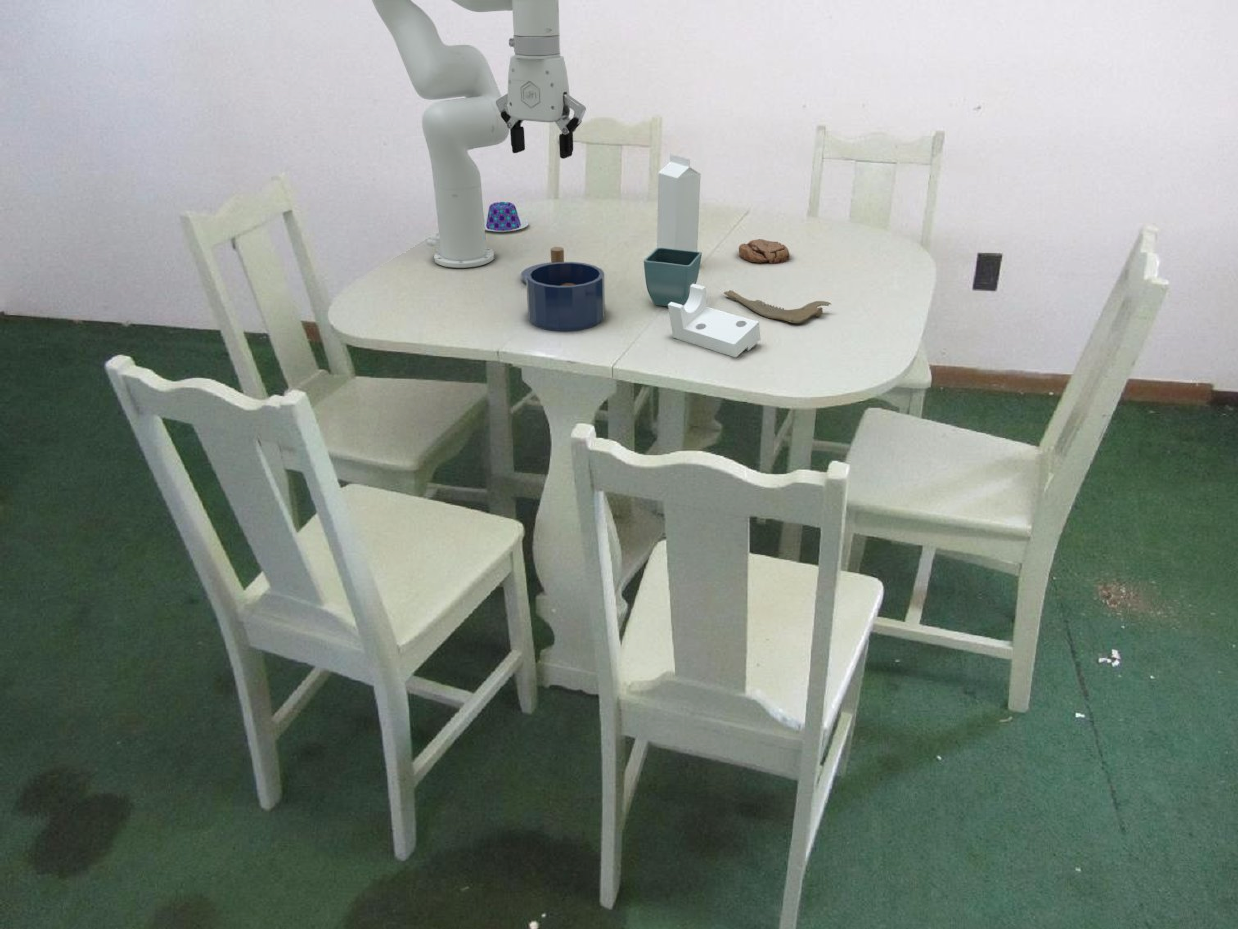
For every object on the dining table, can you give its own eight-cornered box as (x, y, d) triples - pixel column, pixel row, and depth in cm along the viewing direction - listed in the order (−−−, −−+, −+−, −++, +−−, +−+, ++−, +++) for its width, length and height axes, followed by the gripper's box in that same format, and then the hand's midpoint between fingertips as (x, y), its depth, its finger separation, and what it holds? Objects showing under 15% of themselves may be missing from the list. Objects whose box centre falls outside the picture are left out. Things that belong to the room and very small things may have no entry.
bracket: (673, 341, 156) (667, 304, 151) (698, 320, 159) (693, 283, 154) (736, 362, 148) (732, 323, 143) (760, 339, 152) (757, 301, 147)
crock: (513, 323, 161) (511, 279, 157) (553, 299, 171) (552, 257, 167) (580, 336, 155) (579, 292, 151) (617, 310, 166) (617, 268, 162)
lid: (507, 284, 178) (505, 253, 175) (545, 263, 189) (544, 234, 186) (571, 296, 172) (570, 264, 169) (607, 273, 184) (607, 243, 180)
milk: (674, 273, 184) (677, 161, 173) (656, 265, 188) (657, 155, 177) (697, 267, 187) (701, 156, 176) (678, 259, 191) (681, 151, 180)
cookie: (791, 264, 188) (792, 250, 187) (740, 264, 189) (741, 249, 187) (785, 249, 197) (787, 236, 195) (736, 249, 197) (737, 235, 196)
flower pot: (700, 297, 172) (702, 251, 167) (688, 313, 164) (690, 265, 160) (656, 292, 174) (657, 246, 169) (642, 308, 167) (642, 260, 162)
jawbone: (816, 332, 158) (816, 321, 157) (706, 314, 166) (706, 304, 165) (830, 311, 164) (831, 300, 163) (724, 295, 173) (725, 285, 171)
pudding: (512, 236, 206) (510, 213, 203) (467, 230, 210) (465, 207, 208) (538, 223, 215) (537, 201, 213) (495, 217, 220) (493, 195, 217)
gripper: (480, 46, 150) (488, 153, 159) (571, 52, 143) (574, 163, 152) (506, 42, 156) (512, 145, 165) (594, 47, 149) (595, 154, 158)
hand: (542, 154), depth 158 cm, fingers open, 9 cm apart
